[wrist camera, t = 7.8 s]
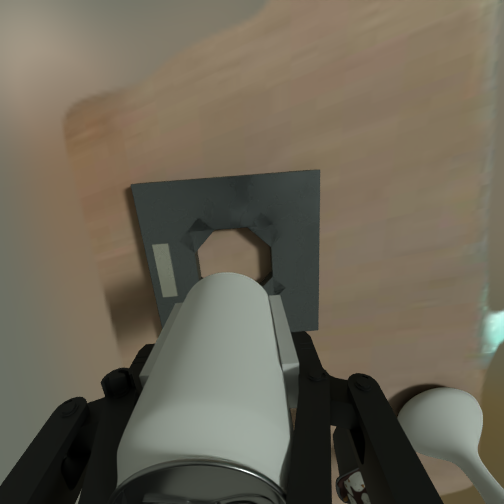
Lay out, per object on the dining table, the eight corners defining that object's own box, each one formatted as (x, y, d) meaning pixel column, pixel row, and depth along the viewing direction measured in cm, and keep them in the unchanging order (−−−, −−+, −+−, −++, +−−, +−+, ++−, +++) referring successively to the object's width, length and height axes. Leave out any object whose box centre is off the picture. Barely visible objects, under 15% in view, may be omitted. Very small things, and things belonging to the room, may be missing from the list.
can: (268, 347, 20) (294, 585, 9) (185, 343, 20) (102, 583, 9) (276, 272, 18) (325, 455, 7) (183, 266, 18) (71, 448, 6)
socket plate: (136, 183, 26) (129, 184, 24) (315, 169, 26) (320, 169, 24) (168, 334, 31) (164, 343, 30) (314, 322, 31) (318, 331, 30)
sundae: (327, 425, 37) (379, 585, 23) (303, 397, 35) (342, 552, 21) (367, 404, 36) (448, 559, 22) (344, 373, 34) (416, 521, 20)
